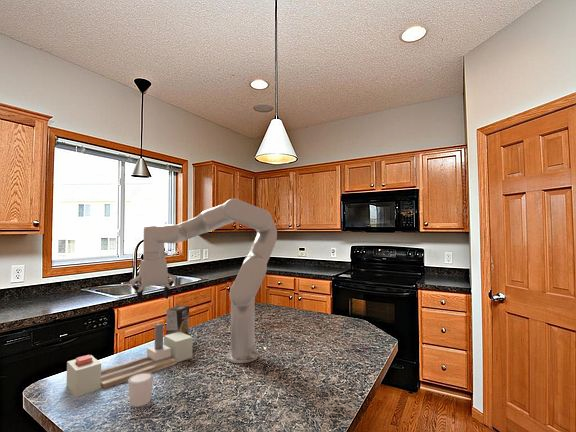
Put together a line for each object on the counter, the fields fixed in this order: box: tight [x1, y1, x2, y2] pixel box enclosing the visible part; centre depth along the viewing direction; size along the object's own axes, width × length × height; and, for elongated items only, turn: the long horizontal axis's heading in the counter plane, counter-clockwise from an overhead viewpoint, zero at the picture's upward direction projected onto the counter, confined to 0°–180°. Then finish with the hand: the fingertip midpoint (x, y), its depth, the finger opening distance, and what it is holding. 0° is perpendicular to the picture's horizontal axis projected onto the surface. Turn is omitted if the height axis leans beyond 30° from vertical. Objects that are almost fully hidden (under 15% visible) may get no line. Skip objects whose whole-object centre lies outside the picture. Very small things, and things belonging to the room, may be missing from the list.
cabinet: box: [163, 332, 194, 364], centre depth 126 cm, size 10×7×8 cm
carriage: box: [146, 322, 171, 361], centre depth 120 cm, size 7×6×12 cm
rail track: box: [101, 355, 177, 390], centre depth 113 cm, size 12×25×2 cm, turn 138°
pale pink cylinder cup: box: [127, 373, 154, 408], centre depth 93 cm, size 7×7×7 cm
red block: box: [75, 354, 92, 367], centre depth 101 cm, size 4×4×4 cm
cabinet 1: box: [66, 354, 102, 398], centre depth 101 cm, size 10×7×8 cm
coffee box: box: [165, 305, 190, 336], centre depth 140 cm, size 9×6×16 cm
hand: (153, 299), depth 122 cm, fingers open, 9 cm apart
